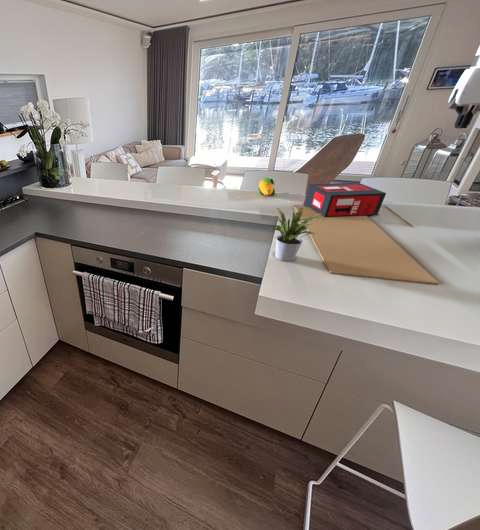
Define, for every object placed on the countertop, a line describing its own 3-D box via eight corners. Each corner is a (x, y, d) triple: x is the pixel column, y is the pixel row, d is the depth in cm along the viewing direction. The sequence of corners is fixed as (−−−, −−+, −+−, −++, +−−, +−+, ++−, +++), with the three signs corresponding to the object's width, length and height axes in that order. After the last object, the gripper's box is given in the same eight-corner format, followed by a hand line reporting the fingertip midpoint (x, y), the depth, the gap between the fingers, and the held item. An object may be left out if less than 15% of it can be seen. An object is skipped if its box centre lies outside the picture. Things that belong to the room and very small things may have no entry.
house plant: (319, 273, 81) (337, 219, 73) (265, 268, 85) (277, 216, 77) (306, 251, 93) (321, 202, 85) (260, 247, 97) (270, 200, 89)
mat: (358, 209, 121) (359, 208, 120) (438, 284, 74) (439, 283, 73) (294, 207, 128) (294, 206, 128) (330, 273, 81) (330, 272, 81)
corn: (274, 174, 149) (279, 184, 133) (272, 189, 152) (277, 200, 136) (258, 175, 151) (262, 185, 135) (257, 189, 155) (260, 200, 139)
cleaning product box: (350, 202, 128) (303, 204, 129) (357, 182, 123) (309, 184, 125) (377, 215, 113) (324, 217, 115) (386, 193, 109) (331, 195, 110)
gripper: (514, 59, 87) (482, 125, 96) (450, 65, 92) (425, 128, 101) (535, 56, 81) (499, 127, 90) (465, 63, 86) (437, 130, 95)
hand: (460, 127), depth 96 cm, fingers closed
